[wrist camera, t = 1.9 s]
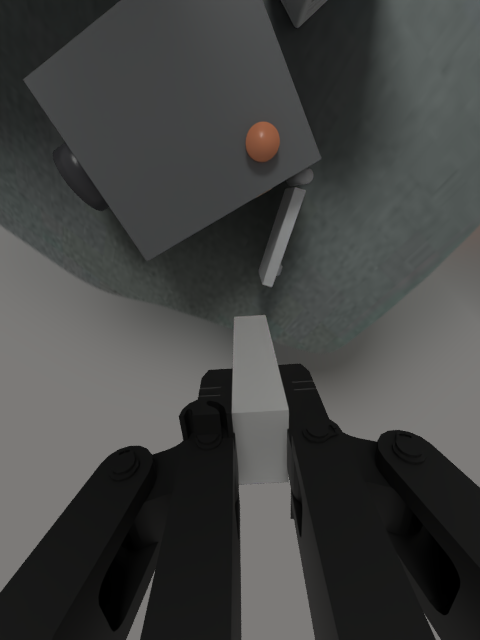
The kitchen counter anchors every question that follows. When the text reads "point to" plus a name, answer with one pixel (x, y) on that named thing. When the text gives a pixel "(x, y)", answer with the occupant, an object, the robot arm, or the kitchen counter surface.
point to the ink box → (301, 9)
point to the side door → (280, 235)
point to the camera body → (175, 115)
